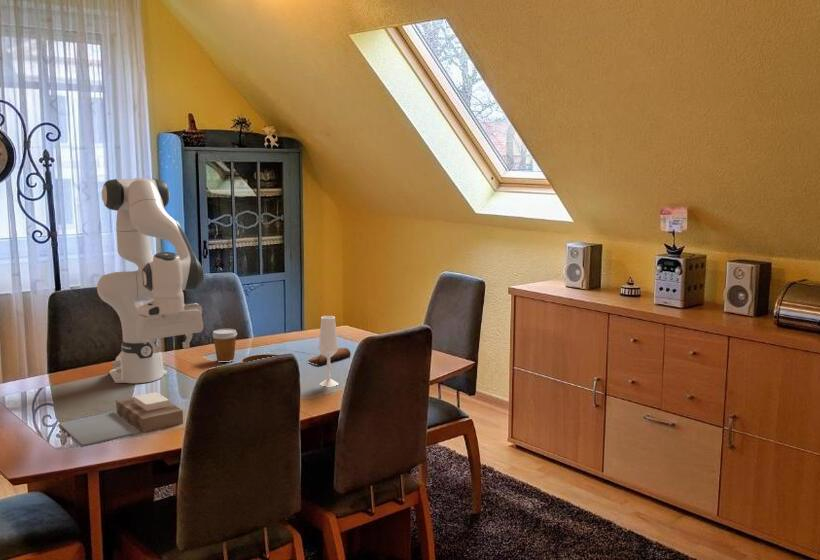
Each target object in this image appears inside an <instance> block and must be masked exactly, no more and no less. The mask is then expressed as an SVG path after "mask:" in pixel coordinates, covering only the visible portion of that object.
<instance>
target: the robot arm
mask: <svg viewBox="0 0 820 560" xmlns="http://www.w3.org/2000/svg"><path fill="white" fill-rule="evenodd" d="M170 195H171V194H170V189H169V186H168V184H167V183H166V181H164V180H161V179H157V178H154V179H151V178H142V177H141V178H139V177H138V178H137V177H136V178H123V179H117V178H115V179H114V178H113V179H109V180H106V181H105V182H104V183H103V186H102V189H101V200H102V201H103V205H104V207H106V209H109V210H110V211H116V212H117V213H116V226H115V227H116V231H115V232H116V244H117V245H116V246H117V247H116V248H117V253H118V255H119V257H120V258H121V259H123V260H125V261H128V262H130V263H133V264H135V265H136V266H137V270H133V271H115V272H110V273H107V274H103V275H101V276H100V278H99V280H97V284H96V290H97V295H98V296H99V298H100V300H101V301H103V302H104V303H106V304H108V305H109V306H110V307H112V309H113V310H114V311H115V312H116V313H117V315H118V318H119V320H120V324H121V331H122V341H121V343H120V344H121V345H120V346H121V347H120V348H121V351H120V352H119V354H118V355H117V356H116V357H115V360H113V361H112V368H113V369H111V370H109V375H110V376H111V378H112V380H113V383H115V384H125V383H126V384H141V383H143V384H144V383H150V382H155V381H157V380H159V379H160V380H161V378H162V377H163V376H165V375H167V374H168V371H167V370H166V369H164V365H163V356H162V352H161V351H160V346H158V339H162V338H170V337H175V336H183V335H185V337H186V338H185V341H183V342H182V348H183V349H189V348H190V343H191V341H192V339H193V334H197V333H202V331H203V330H204V321H203V317H202V314H203V307H202V306H201V304H199V303H197V302H192V303H185V296H184V295H185V294H184V291H197V289H198V288H199V287H201V285H203V283H204V280H205V272H204V269H203V266H202V264H201V262H200V261H199V259H198V258H197V256H196V254H195V252H194V250H193V248H192V246H191V243H190V241H189V239H188V237H187V235H186V233H185V231H184V229H183V227H182V225H181V224H180V222H179V221H178V220H177V219H175V218H173V217H172V216H171V215H170V214H169V213H168V212H167V210H166V209H165V208H166V207H167V206H168V204H169V201H170ZM151 237H152V238H157V239H161V240H164V241H166V242H168V243H170V244H171V245H172V246H173V248H174V249H175V251H176V253H175V252H171V251H170V252H169V251H164V252H163V251H162V252H161V251H160V252H157V253H156V254H153V250H152V243H151ZM141 302H142V303H143V302H147V303H144V304H143V305H142V304H141V305H139V306H138V307H137V306H136V303H141Z"/></svg>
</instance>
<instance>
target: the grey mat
mask: <svg viewBox="0 0 820 560" xmlns="http://www.w3.org/2000/svg"><path fill="white" fill-rule="evenodd" d="M58 425H59V426H60V428H62V429H63V430H64V431H65V432H66V433H67V434H68V435H69V436H70V437H72V439H74V441H75V442H77V443H78V444H79V445H80V446H81V447H86V446H89V445H93V444H98V443H103V442H106V441H107V442H108V441H111V440H116V439H120V438H124V437H128V436H133V435H138V434H140V433H141V430H140V429H138V428H137V427H136V426H134V425H133V424H132V423H130V422H129V421H127V420H126V419H125V418H123V417H122V416H121V415H119V414H118V413H117V412H115V411H111V412H107V413H102V414H97V415H93V416H92V415H91V416H88V417H87V416H86V417H82V418H78V419H73V420H69V421H63V422H59V423H58Z"/></svg>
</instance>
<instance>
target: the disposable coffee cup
mask: <svg viewBox="0 0 820 560" xmlns="http://www.w3.org/2000/svg"><path fill="white" fill-rule="evenodd" d="M237 335H238V332H237V330H236V329H234V328H220V329H216V330H213V331H212V335H211V336H212V338H213V342H214V349H215V355H216V360H218V361H230V360H233V359H234V360H235V352H236V341H237Z"/></svg>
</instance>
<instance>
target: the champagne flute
mask: <svg viewBox="0 0 820 560" xmlns="http://www.w3.org/2000/svg"><path fill="white" fill-rule="evenodd" d="M337 333H338V332H337V324H336V317H335V316H333V315H324V316H321V317H320V330H319V342H318V343H319V344H318V349H319V351H320V354H321V353H322V354H323V355H324V356H325V357H327V363H326V370H327V371H326V372H327V373H326V376H327V377H326V379H325V380H323V381H321V382H320V383H319V386H320V385H321V387H323V386H326V387H325V388H331V387H332V388H333V387H337V386H338V385H339V382H337V381H335V380H334V379H332V377H331V376H332V375H331V361H330V357H332V356H333V355H334V354H335V353H336V352H337V350H338V348H339V344H338V343H339V342H338V334H337ZM336 385H337V386H336Z"/></svg>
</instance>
